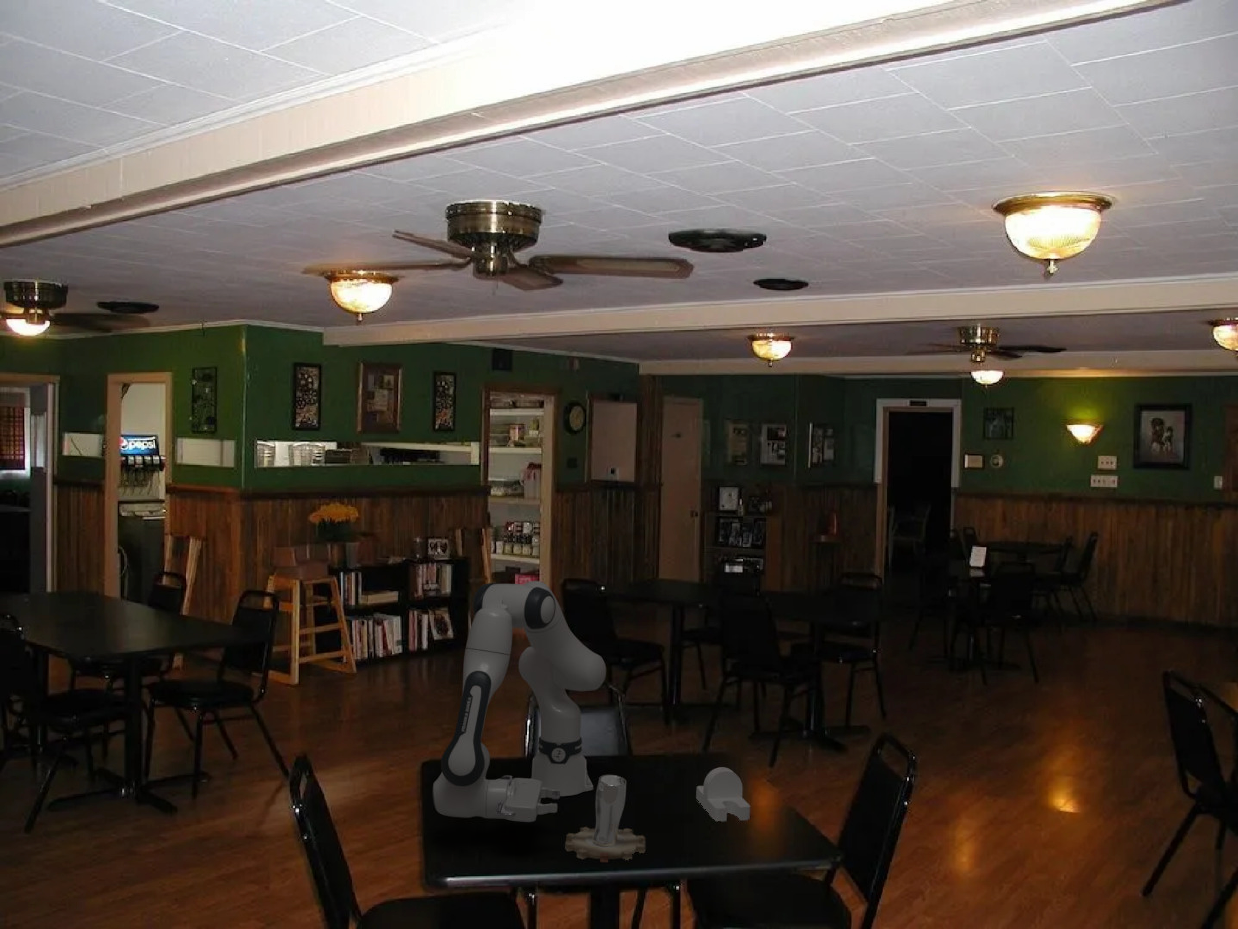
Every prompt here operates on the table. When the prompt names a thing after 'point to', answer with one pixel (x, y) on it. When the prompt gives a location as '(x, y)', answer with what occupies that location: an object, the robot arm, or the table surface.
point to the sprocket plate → (590, 849)
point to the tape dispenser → (723, 795)
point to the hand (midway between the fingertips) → (558, 801)
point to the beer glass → (609, 809)
